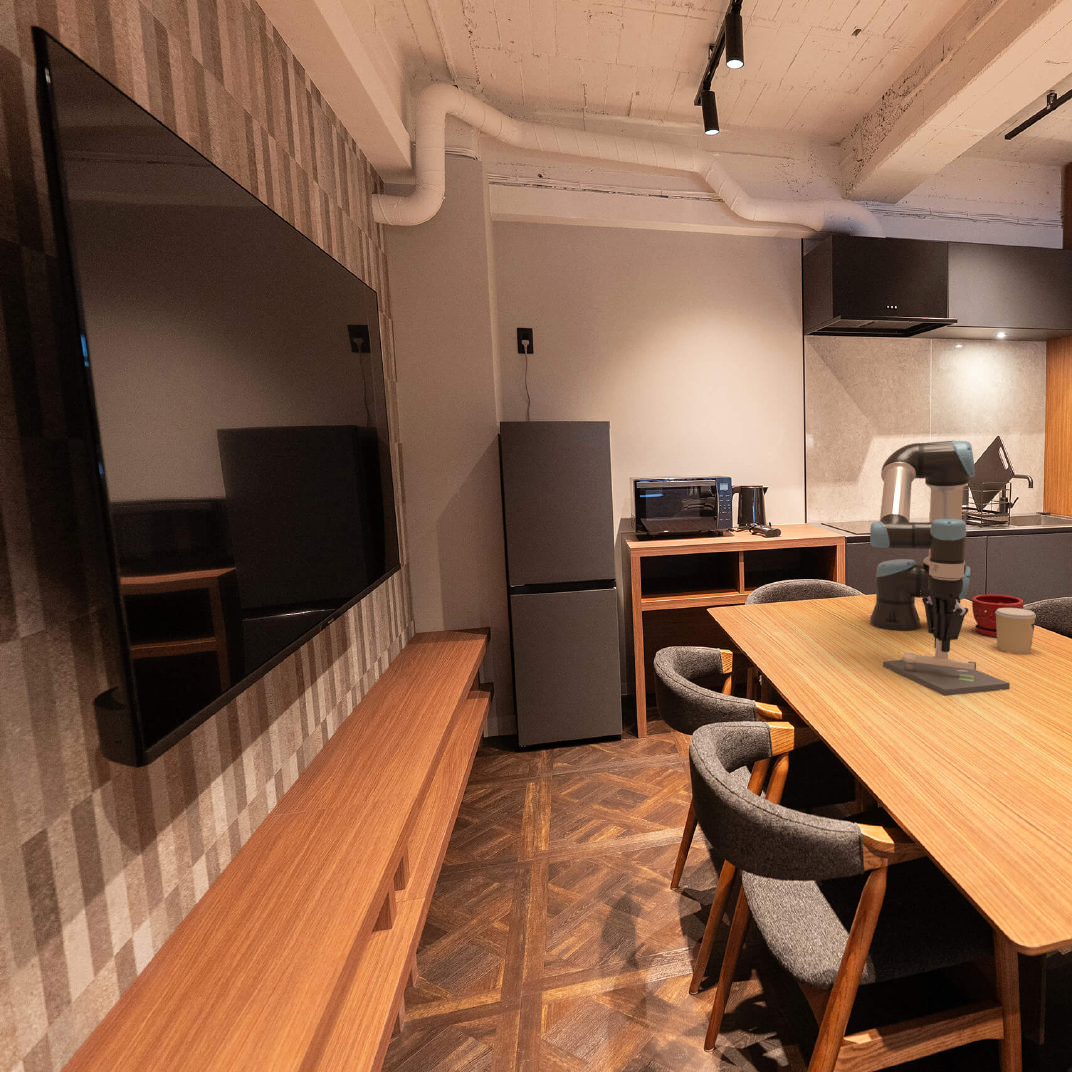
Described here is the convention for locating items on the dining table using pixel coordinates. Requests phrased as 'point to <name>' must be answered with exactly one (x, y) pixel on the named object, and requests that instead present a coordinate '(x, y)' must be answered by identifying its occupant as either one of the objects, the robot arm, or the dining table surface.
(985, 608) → the plant pot
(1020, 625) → the coffee cup
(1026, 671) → the dining table surface
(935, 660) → the knob-ended beige rod
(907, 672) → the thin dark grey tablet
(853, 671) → the dining table surface
